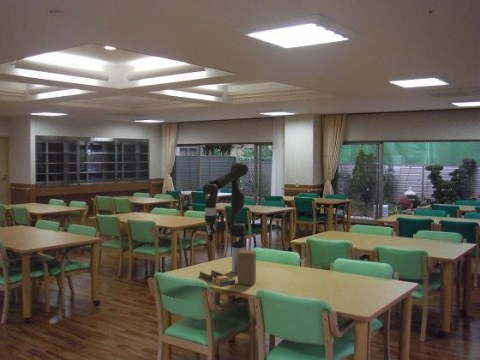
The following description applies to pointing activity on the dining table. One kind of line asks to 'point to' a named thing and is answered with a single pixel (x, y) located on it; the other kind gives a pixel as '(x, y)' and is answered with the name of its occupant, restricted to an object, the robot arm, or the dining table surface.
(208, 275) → the walnut chute
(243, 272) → the wooden block
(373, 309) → the dining table surface
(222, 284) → the bar
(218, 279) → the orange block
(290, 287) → the dining table surface
